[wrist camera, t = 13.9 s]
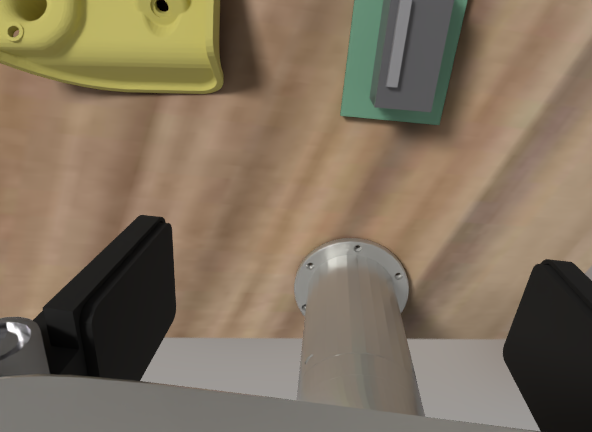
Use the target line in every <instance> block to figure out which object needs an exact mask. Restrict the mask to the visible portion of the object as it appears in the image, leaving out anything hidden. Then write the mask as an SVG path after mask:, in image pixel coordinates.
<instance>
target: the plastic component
mask: <svg viewBox="0 0 592 432" xmlns="http://www.w3.org/2000/svg"><path fill="white" fill-rule="evenodd" d="M156 1H157V0H0V63H2V64H4V65H7V66H10V67H13V68H15V69H18V70H21V71H24V72H28V73H31V74H34V75H37V76H41V77H44V78H48V79H52V80H55V81H59V82H63V83H68V84H72V85H77V86H82V87H88V88H94V89H100V90H109V91H119V92H143V93H188V94H207V93H212V92H215V91H217V90H219V89H221V87H222V86H223V71H222V68H221V63H220V54H219V26H220V0H164V1H165V2H167V4H168V7H169V9H168V11H166V12H164V11H161V10H160V9H159V8H158V7H157V4H156ZM16 30H19V35H18V36H17V37H14V38H13V34H14V32H15V31H16Z"/></svg>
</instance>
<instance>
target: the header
mask: <svg viewBox="0 0 592 432" xmlns="http://www.w3.org/2000/svg"><path fill="white" fill-rule="evenodd" d="M466 4H467V0H454V4H453V8H452V13H451V18H450V23H449V28H448V33H447V37H446V42H445V47H444V52H443V57H442V62H441V66H440V71H439V76H438V81H437V86H436V91H435V95H434V100H433V105H432V110H431V112H421V111H409V110H398V109H387V108H375V107H374V105H373V104H372V102H371V100H370V98H369V97H370V90H371V83H372V76H373V69H374V62H375V55H376V48H377V41H378V34H379V27H380V20H381V13H382V6H383V0H354V7H353V15H352V23H351V32H350V40H349V48H348V56H347V64H346V72H345V80H344V88H343V96H342V104H341V113H340V115H341V116H350V117H360V118H370V119H381V120H391V121H401V122H412V123H422V124H432V125H439V124H440V120H441V115H442V111H443V106H444V102H445V98H446V93H447V89H448V84H449V80H450V75H451V71H452V67H453V62H454V58H455V53H456V49H457V44H458V40H459V35H460V31H461V27H462V22H463V18H464V13H465V9H466Z"/></svg>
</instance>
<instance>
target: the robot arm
mask: <svg viewBox="0 0 592 432" xmlns="http://www.w3.org/2000/svg"><path fill="white" fill-rule="evenodd" d="M356 245H359V246H358V247H356ZM310 263H312V264H310ZM294 294H295V300H296V302H297V305H298V307H299V309H300V311H301V312H302V314H303V315H304V316H305V322H304V331H303V343H302V351H301V361H300V371H299V381H298V391H297V400H289V399H281V398H273V397H266V396H265V397H264V396H257V395H249V394H241V393H233V392H224V391H217V390H208V389H200V388H192V387H184V386H175V385H167V384H159V383H151V382H143V381H140V380H141V378H142V376H143V374H144V372H145V371H146V369H147V367H148V365H149V364H150V362H151V360H152V358H153V356H154V355H155V352H156V351H157V349H158V347H159V345H160V344H161V342H162V340H163V338H164V336H165V335H166V333H167V331H168V329H169V327H170V326H171V324H172V322H173V320H174V317H175V313H176V297H175V278H174V259H173V240H172V227H171V224H170V223H165V220H164V218H163V217H155V216H146V215H140V216H138V217H137V218H136V219H135V220H134V221H133V222H132V223H131V224H130V225H129V226H128V227H127V228H126V229H125V230H124V231H123V232H122V233H121V234H120V235H118V236H117V237H116V238H115V239H114V240H113V241H112V242H111V243H110V244H109V245H108V246H107V247H106V248H105V249H104V250H103V251H102V252H101V253H100V254H99V255H97V256H96V257H95V258H94V259H93V260H92V261H91V262H90V263H89V264H88V265H87V266H86V267H85V268H84V269H83V270H82V271H81V272H80V273H79V274H77V275H76V276H75V277H74V278H73V279H72V280H71V281H70V282H69V283H68V284H67V285H66V286H65V287H64V288H63V289H62V290H61V291H60V292H59V293H58V294H56V295H55V296H54V297H53V298H52V299H51V300H50V301H49V302H48V303H47V304H46V305H45V306H44V307H43V311H42V312H41V313H40V314H39V315H38V316H37V317H36V318H35V319H34V320H33V321H32V320H30V319H27V318H22V317H6V318H0V432H538V431H531V430H523V429H516V428H508V427H501V426H493V425H485V424H477V423H469V422H462V421H454V420H446V419H438V418H430V417H425V414H424V410H423V406H422V402H421V398H420V393H419V390H418V386H417V381H416V376H415V372H414V368H413V364H412V360H411V356H410V351H409V347H408V343H407V339H406V335H405V330H404V326H403V322H402V317H401V312H402V311H403V309H404V308H405V305H406V302H407V300H408V294H409V285H408V279H407V275H406V272H405V270H404V268H403V266H402V264H401V262H400V261H399V260H398V258H397V257H396V256H395V255H394V254H393V253H392V252H391V251H389V250H388V249H387V248H385V247H383V246H381V245H380V244H378V243H375V242H372V241H369V240H365V239H359V238H343V239H337V240H333V241H330V242H327V243H325V244H322V245H321V246H319V247H317V248H316V249H314V250H313V251H312V252H311V253H309V254H308V255H307V256H306V257H305V259H304V260H303V261H302V263H301V264H300V266H299V268H298V271H297V273H296V278H295V284H294ZM503 357H504V361H505V363H506V365H507V367H508V369H509V370H510V372H511V375H512V376H513V378H514V380H515V382H516V384H517V386H518V388H519V390H520V392H521V394H522V396H523V398H524V400H525V401H526V403H527V405H528V407H529V409H530V411H531V413H532V415H533V417H534V419H535V421H536V423H537V425H538V427H539V428H540V431H541V432H592V281H591V280H590V279H589V278H588V277H587V276H586V275H585V274H584V273H583V272H582V271H581V270H580V269H579V268H578V267H577V266H576V265H575V264H573V263H572V262H566V261H557V260H548V259H546V260H544V261H543V262H542V263H541V264H537V265H535V266H534V268H533V270H532V272H531V275H530V278H529V280H528V283H527V286H526V288H525V291H524V294H523V296H522V299H521V301H520V304H519V307H518V309H517V312H516V315H515V317H514V320H513V323H512V325H511V328H510V331H509V333H508V336H507V339H506V342H505V344H504V348H503Z"/></svg>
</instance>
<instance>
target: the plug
mask: <svg viewBox="0 0 592 432" xmlns="http://www.w3.org/2000/svg"><path fill="white" fill-rule="evenodd" d="M453 4H454V0H383V6H382V13H381V20H380V27H379V34H378V41H377V48H376V55H375V62H374V69H373V76H372V83H371V90H370V97H369V98H370V100H371V102H372V104H373V105H374V107H375V108H387V109H398V110H409V111H421V112H431V110H432V105H433V100H434V95H435V91H436V86H437V81H438V76H439V71H440V66H441V62H442V57H443V52H444V47H445V42H446V37H447V33H448V28H449V23H450V18H451V13H452V8H453Z"/></svg>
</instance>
